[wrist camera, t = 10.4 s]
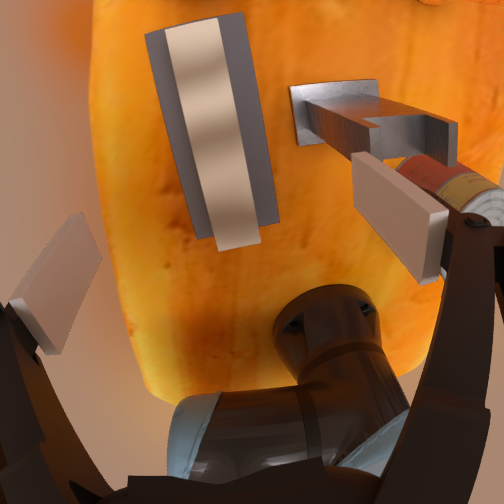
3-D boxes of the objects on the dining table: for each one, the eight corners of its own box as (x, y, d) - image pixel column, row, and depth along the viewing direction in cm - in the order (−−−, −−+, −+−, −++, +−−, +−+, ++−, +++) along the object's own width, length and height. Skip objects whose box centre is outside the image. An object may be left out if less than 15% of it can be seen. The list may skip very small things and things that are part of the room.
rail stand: (378, 133, 31) (466, 185, 19) (297, 144, 31) (353, 204, 19) (348, -59, 19) (427, -110, 7) (259, -59, 19) (293, -135, 7)
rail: (255, 218, 34) (261, 243, 30) (217, 226, 34) (218, 251, 30) (217, 26, 24) (217, 17, 19) (173, 35, 24) (164, 29, 19)
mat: (278, 220, 35) (279, 222, 35) (197, 236, 35) (197, 239, 35) (242, 13, 24) (242, 12, 23) (145, 34, 24) (144, 34, 23)
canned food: (462, 210, 37) (518, 257, 27) (397, 247, 39) (445, 307, 29) (448, 135, 31) (519, 170, 21) (374, 173, 33) (433, 223, 23)
